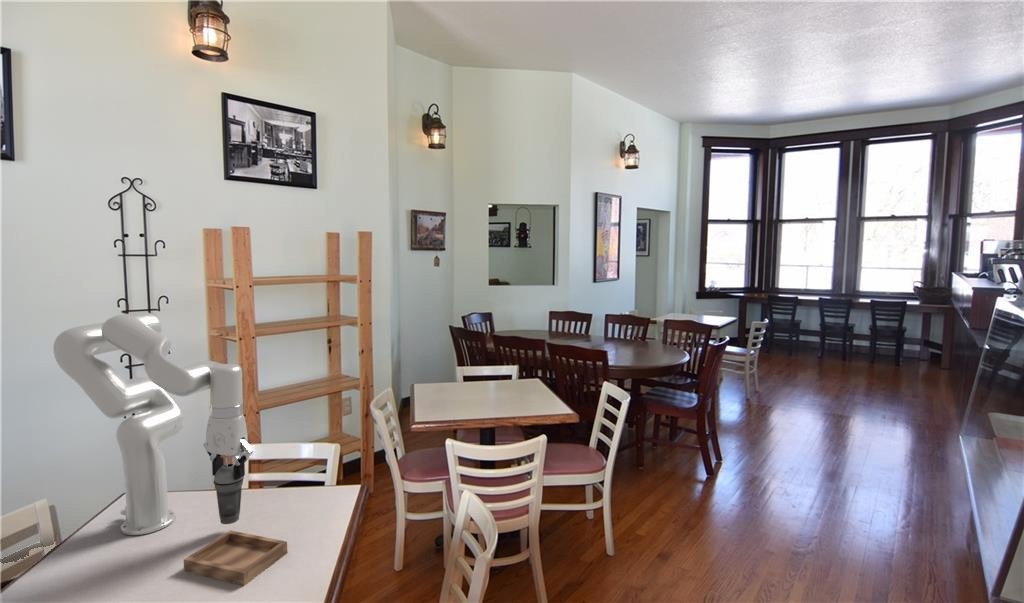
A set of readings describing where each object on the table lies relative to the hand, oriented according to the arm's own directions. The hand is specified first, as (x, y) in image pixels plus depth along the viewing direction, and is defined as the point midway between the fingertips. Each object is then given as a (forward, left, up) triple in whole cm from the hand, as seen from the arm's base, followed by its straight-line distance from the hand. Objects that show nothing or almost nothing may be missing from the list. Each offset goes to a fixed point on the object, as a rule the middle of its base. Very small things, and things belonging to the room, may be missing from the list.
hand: (228, 475), depth 146 cm
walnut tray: (+13, -11, -16) cm, 23 cm away
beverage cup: (0, 0, -13) cm, 13 cm away
